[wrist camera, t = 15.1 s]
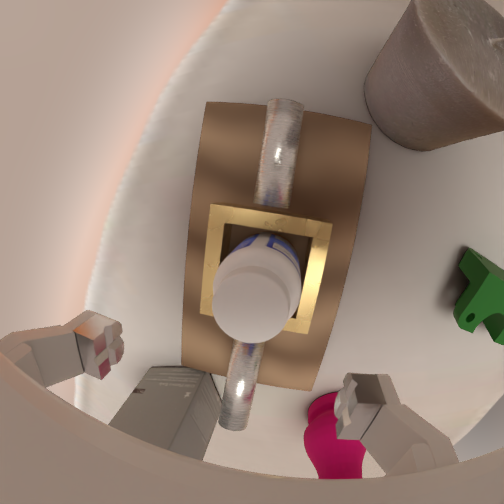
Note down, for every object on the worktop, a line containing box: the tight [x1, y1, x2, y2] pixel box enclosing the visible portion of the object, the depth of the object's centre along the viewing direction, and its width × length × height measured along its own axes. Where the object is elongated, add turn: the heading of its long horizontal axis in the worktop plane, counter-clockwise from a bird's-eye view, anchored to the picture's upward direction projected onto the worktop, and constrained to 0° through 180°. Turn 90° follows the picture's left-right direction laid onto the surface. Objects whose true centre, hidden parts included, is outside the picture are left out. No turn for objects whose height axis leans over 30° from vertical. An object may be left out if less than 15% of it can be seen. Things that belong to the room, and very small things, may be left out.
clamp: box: [453, 248, 504, 345], centre depth 19 cm, size 12×6×9 cm, turn 65°
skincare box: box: [108, 368, 222, 461], centre depth 22 cm, size 8×7×16 cm
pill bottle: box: [212, 232, 301, 343], centre depth 18 cm, size 5×5×10 cm
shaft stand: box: [181, 99, 372, 431], centre depth 20 cm, size 26×14×9 cm, turn 172°
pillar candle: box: [364, 0, 504, 151], centre depth 12 cm, size 10×10×15 cm
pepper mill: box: [304, 392, 366, 479], centre depth 18 cm, size 7×7×20 cm
